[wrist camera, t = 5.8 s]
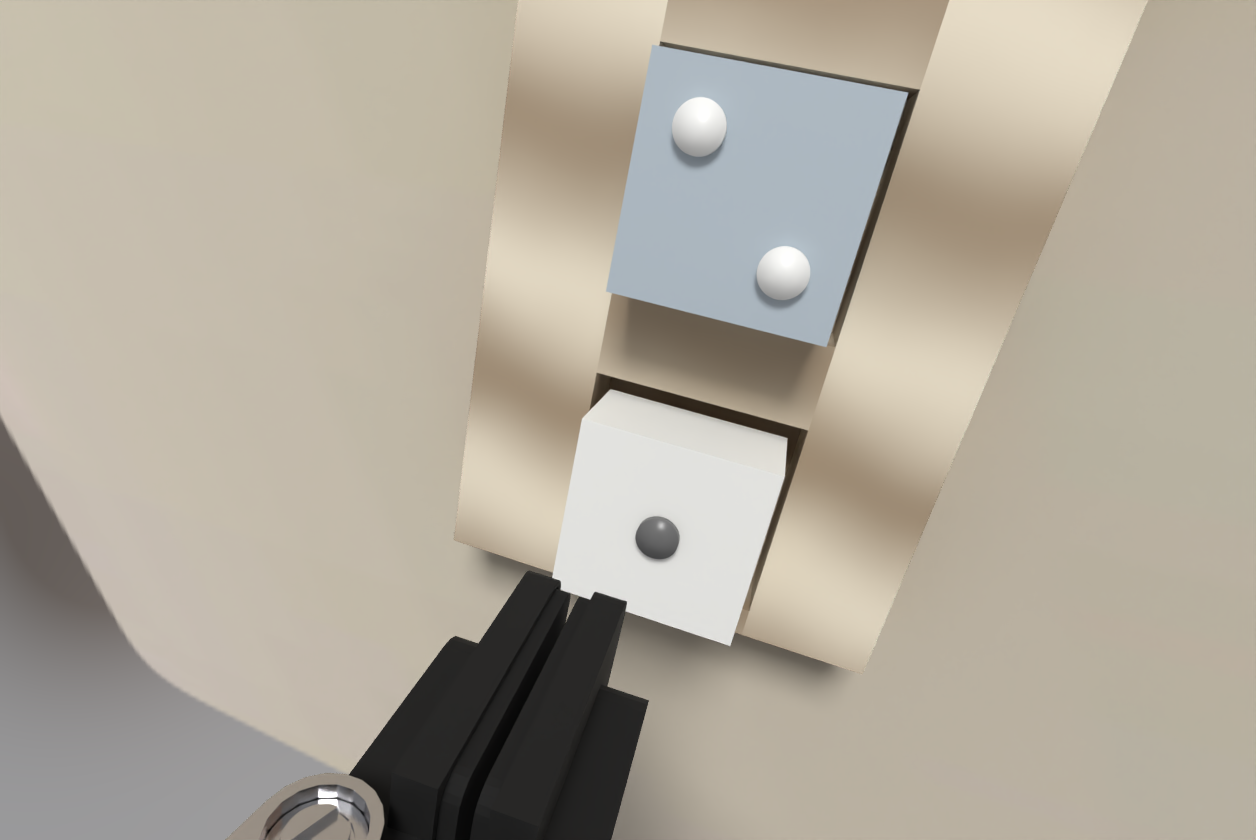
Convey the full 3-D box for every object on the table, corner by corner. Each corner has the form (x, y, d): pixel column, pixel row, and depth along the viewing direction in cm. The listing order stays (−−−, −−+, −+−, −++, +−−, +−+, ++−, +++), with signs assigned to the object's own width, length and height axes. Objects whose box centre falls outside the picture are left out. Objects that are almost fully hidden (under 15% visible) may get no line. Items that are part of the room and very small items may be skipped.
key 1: (739, 590, 18) (729, 651, 16) (580, 539, 19) (547, 590, 16) (787, 438, 16) (784, 479, 14) (610, 389, 17) (579, 420, 15)
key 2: (823, 324, 15) (826, 349, 13) (633, 277, 16) (603, 293, 14) (891, 108, 14) (909, 91, 11) (675, 66, 14) (649, 42, 12)
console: (856, 620, 20) (862, 674, 18) (488, 504, 22) (454, 540, 20) (1254, -365, 12) (1356, -492, 10) (616, -413, 14) (580, -526, 12)
